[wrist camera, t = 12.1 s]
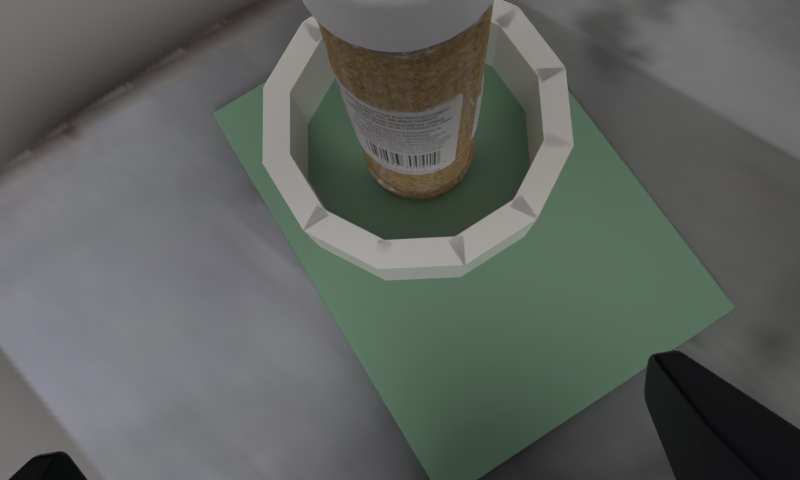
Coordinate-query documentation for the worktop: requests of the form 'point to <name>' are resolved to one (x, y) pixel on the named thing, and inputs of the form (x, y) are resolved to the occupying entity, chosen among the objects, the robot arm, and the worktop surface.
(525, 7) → the worktop surface
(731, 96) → the worktop surface
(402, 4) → the sprinkles bottle
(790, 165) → the worktop surface
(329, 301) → the practice green
